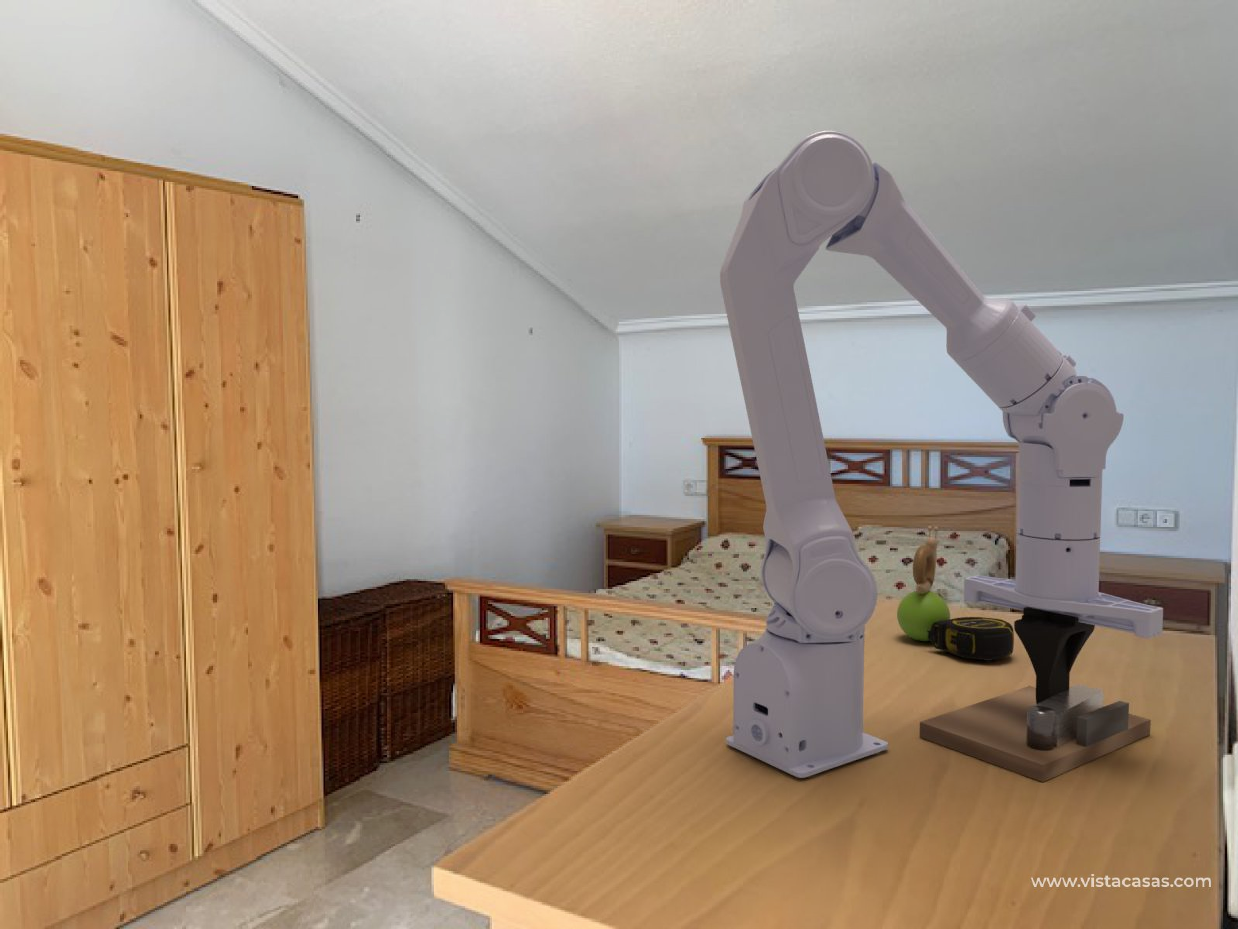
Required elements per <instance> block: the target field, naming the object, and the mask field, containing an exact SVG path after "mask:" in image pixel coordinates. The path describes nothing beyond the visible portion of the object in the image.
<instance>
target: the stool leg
mask: <svg viewBox="0 0 1238 929" xmlns="http://www.w3.org/2000/svg"><path fill="white" fill-rule="evenodd" d="M1103 702H1104V690H1103V689H1100V688H1099V689H1098V688H1095V687H1090V686H1086V685H1081V684H1074V685H1072V686H1069V690H1067V691H1064V692H1061V693H1058V694H1056V695H1054V696H1052V697H1050V698H1048V699H1046V700H1044V701H1042V702H1040V703H1038V704H1036V705H1034V706H1029V707H1028V708H1027V735H1026V744H1027V745H1028V746H1029V747H1031V748H1034V749H1038V750H1051V749H1053V748H1054V747H1059V746H1061V745H1062V744H1064V743H1066V742H1067V741H1069V740H1071V739H1072V738H1074V737H1076V736H1077V717H1078V716H1081V715H1084V714H1086V713H1089V712H1092V711H1094V710H1097V709H1099V708H1102V707H1103V706H1104V705H1103Z"/></svg>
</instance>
